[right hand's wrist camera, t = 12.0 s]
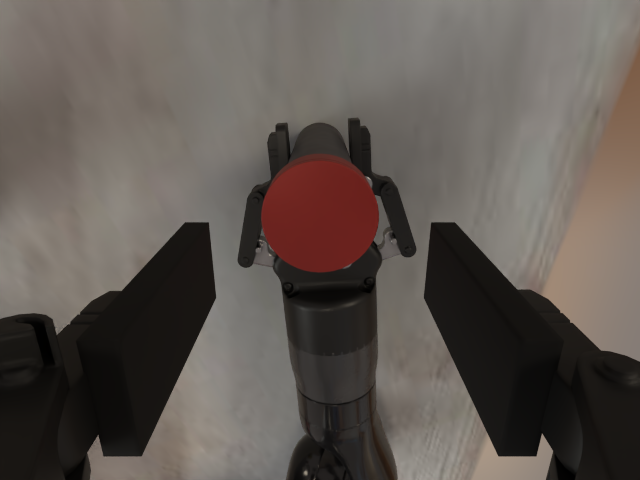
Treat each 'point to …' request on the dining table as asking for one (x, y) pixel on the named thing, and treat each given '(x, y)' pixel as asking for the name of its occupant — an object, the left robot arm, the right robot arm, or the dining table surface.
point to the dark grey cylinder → (320, 142)
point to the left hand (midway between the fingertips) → (317, 122)
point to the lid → (320, 213)
